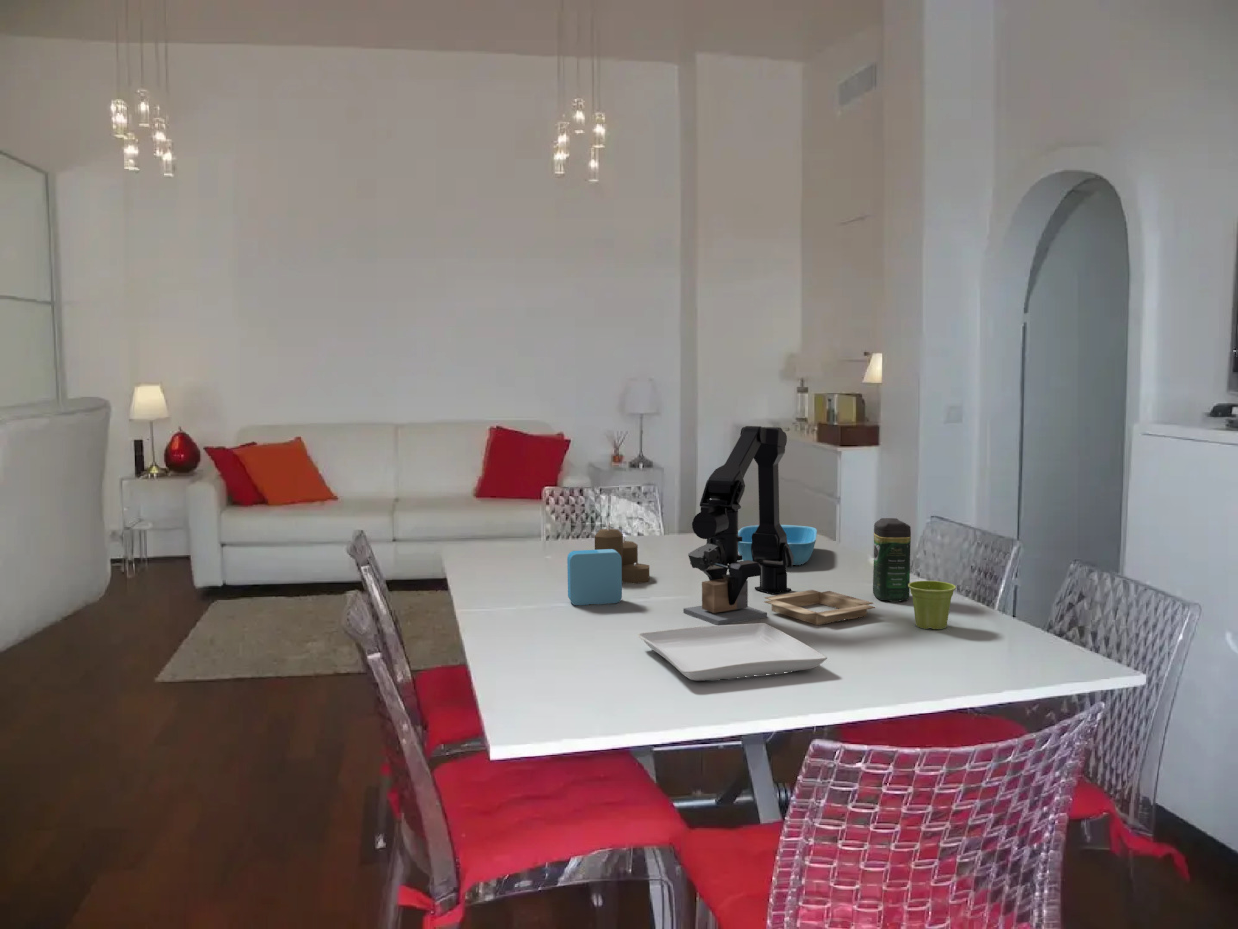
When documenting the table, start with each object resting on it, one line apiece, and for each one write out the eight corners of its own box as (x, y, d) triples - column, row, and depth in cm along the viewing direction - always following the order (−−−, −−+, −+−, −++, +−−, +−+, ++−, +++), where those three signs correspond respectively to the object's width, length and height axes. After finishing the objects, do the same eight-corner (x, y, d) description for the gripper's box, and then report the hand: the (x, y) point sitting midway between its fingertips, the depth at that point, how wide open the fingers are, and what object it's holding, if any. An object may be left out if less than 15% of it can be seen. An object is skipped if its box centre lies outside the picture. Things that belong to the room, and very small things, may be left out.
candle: (606, 587, 253) (605, 527, 252) (584, 576, 266) (584, 519, 264) (655, 581, 259) (655, 523, 257) (632, 571, 271) (631, 515, 270)
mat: (683, 612, 226) (683, 608, 226) (730, 605, 233) (730, 600, 232) (718, 625, 215) (718, 620, 215) (767, 617, 221) (767, 612, 221)
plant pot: (930, 634, 206) (931, 592, 205) (897, 624, 214) (898, 583, 213) (964, 628, 210) (965, 587, 209) (931, 618, 219) (932, 578, 218)
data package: (618, 599, 240) (618, 548, 239) (622, 603, 236) (621, 552, 235) (567, 601, 238) (567, 550, 237) (570, 606, 233) (569, 554, 232)
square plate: (829, 677, 181) (830, 655, 180) (684, 692, 173) (684, 670, 172) (765, 637, 206) (765, 619, 206) (635, 650, 199) (635, 630, 198)
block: (702, 608, 223) (701, 581, 223) (735, 603, 228) (735, 576, 227) (714, 613, 219) (714, 585, 219) (747, 607, 224) (747, 580, 223)
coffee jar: (913, 602, 233) (914, 522, 231) (878, 602, 233) (879, 522, 232) (903, 593, 243) (904, 515, 241) (869, 593, 243) (870, 515, 241)
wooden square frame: (755, 609, 228) (755, 598, 228) (820, 599, 238) (820, 588, 237) (816, 629, 211) (816, 617, 211) (883, 617, 220) (883, 605, 220)
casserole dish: (742, 545, 310) (742, 521, 309) (817, 546, 306) (817, 523, 305) (731, 569, 274) (731, 543, 273) (815, 571, 270) (816, 545, 269)
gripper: (670, 529, 226) (670, 599, 227) (720, 542, 210) (720, 616, 211) (711, 525, 231) (711, 592, 233) (763, 536, 215) (763, 609, 217)
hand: (725, 602), depth 223 cm, fingers closed on block, 4 cm apart
